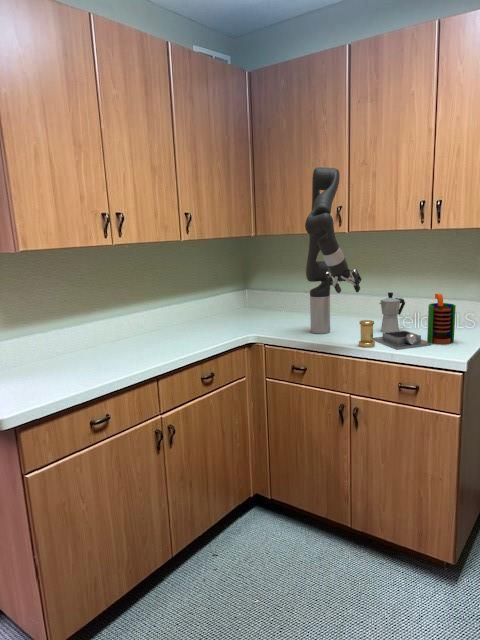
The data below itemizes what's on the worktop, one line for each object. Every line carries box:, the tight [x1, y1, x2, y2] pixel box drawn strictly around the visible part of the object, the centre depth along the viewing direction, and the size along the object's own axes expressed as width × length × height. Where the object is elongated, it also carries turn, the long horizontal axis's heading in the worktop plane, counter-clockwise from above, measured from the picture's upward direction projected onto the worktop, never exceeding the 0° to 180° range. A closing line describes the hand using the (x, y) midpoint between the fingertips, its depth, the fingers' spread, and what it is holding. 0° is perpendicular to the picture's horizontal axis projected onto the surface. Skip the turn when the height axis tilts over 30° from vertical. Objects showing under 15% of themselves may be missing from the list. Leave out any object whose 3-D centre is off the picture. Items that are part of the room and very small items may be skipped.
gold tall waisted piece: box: [358, 319, 376, 349], centre depth 200 cm, size 6×6×10 cm
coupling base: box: [373, 330, 433, 351], centre depth 203 cm, size 18×16×5 cm
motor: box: [426, 292, 457, 346], centre depth 199 cm, size 10×9×20 cm
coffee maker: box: [379, 291, 406, 333], centre depth 224 cm, size 15×9×18 cm, turn 115°
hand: (348, 291), depth 199 cm, fingers open, 8 cm apart
